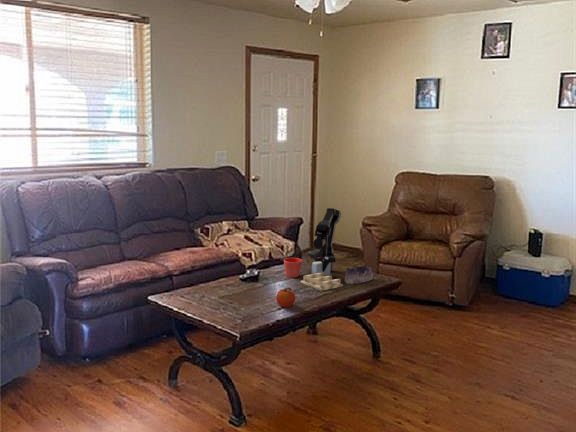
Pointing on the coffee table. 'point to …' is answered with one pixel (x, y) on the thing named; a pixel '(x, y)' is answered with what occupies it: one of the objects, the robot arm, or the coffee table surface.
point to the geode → (358, 275)
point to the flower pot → (292, 266)
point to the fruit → (285, 297)
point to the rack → (321, 281)
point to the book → (320, 268)
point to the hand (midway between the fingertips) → (321, 270)
